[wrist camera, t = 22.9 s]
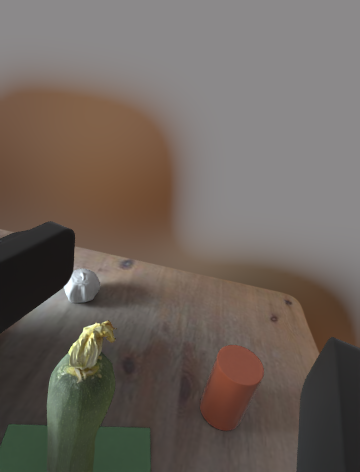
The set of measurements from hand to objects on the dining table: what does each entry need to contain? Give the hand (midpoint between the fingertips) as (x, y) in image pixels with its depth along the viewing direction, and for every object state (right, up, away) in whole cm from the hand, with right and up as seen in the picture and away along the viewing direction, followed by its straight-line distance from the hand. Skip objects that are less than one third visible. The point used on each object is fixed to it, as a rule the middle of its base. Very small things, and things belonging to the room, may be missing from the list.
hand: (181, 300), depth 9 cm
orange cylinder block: (+5, -19, +28) cm, 34 cm away
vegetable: (-10, -20, +18) cm, 29 cm away
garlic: (-16, -8, +40) cm, 43 cm away
